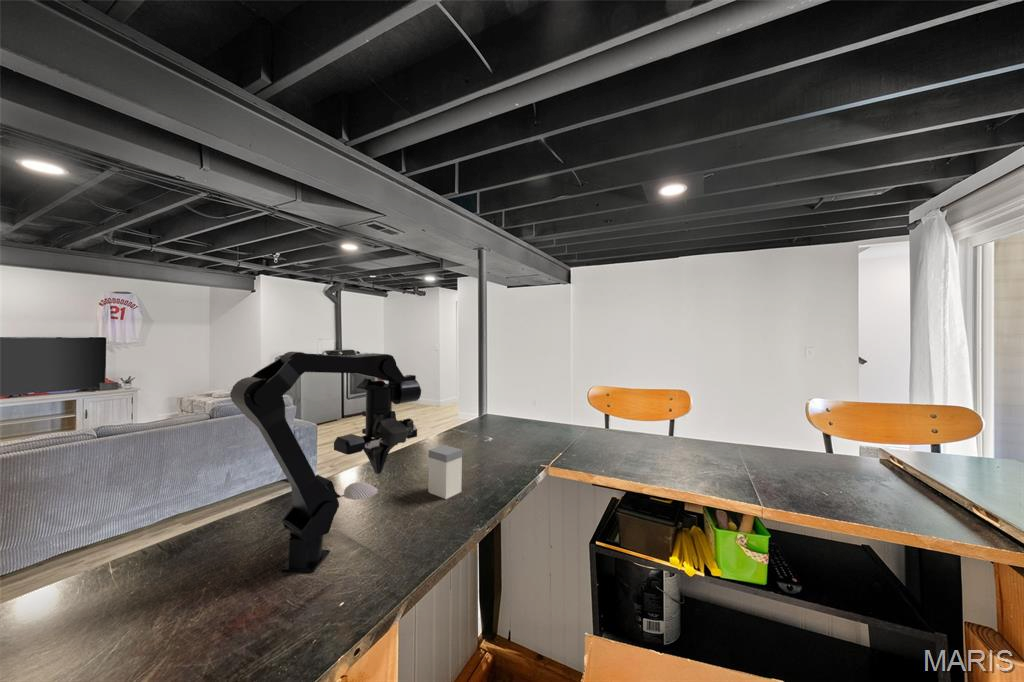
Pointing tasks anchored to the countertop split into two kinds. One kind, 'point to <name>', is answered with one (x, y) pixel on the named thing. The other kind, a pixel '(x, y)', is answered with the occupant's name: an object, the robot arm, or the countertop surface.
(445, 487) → the lidded box
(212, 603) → the countertop surface
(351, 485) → the seashell
